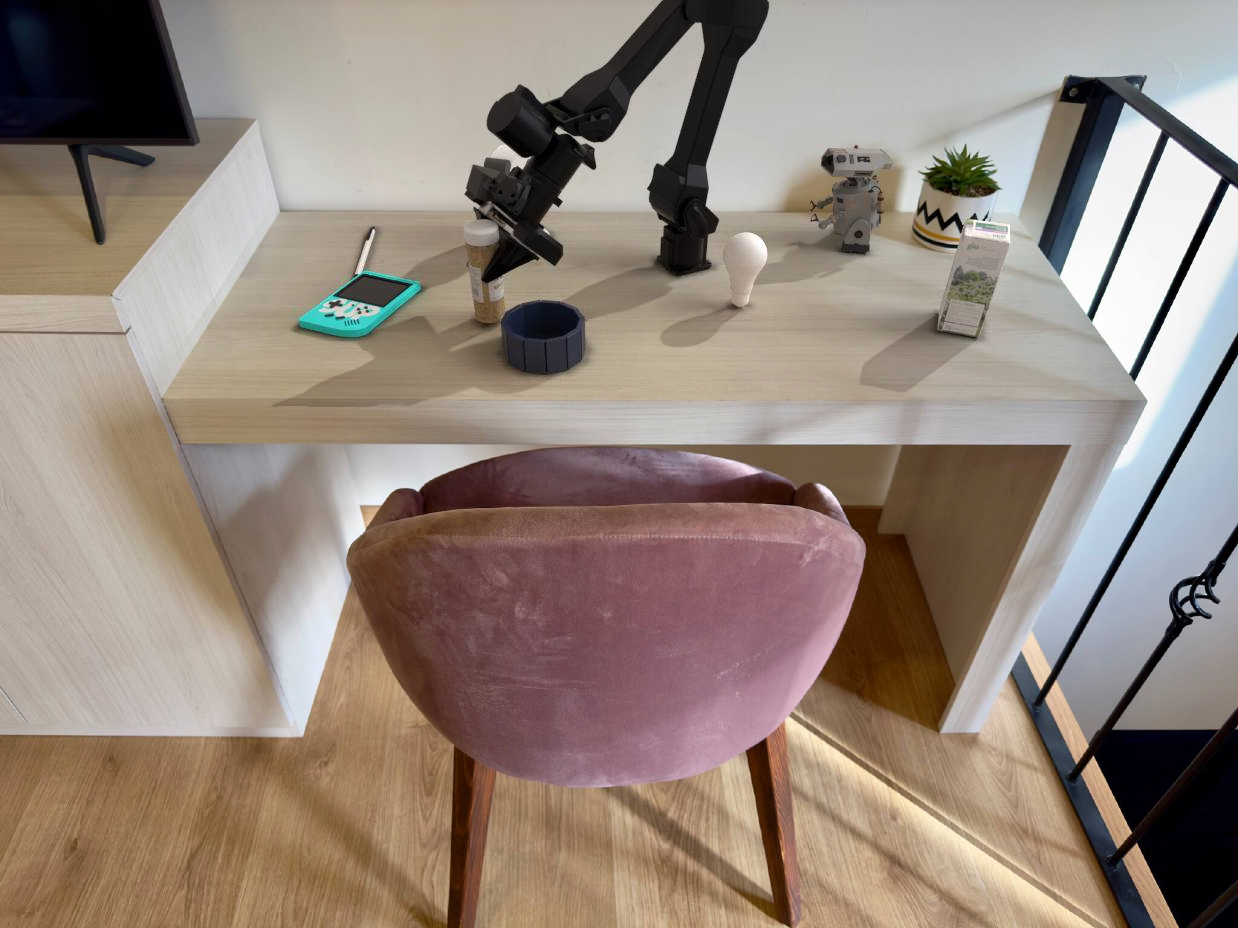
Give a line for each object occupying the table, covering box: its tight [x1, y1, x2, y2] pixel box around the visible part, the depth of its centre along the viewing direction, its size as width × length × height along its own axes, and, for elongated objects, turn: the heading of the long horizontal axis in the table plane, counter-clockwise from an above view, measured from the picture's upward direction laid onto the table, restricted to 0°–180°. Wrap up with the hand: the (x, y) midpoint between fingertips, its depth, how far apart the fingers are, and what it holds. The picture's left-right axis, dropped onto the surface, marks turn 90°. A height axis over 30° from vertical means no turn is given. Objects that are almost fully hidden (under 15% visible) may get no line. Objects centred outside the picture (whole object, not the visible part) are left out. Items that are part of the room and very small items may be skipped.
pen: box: [353, 225, 376, 278], centre depth 135 cm, size 1×19×1 cm, turn 4°
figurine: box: [809, 144, 894, 255], centre depth 136 cm, size 9×12×15 cm
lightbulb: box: [722, 231, 768, 308], centre depth 120 cm, size 6×6×11 cm
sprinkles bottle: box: [462, 219, 507, 324], centre depth 115 cm, size 5×5×14 cm
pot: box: [500, 299, 586, 375], centre depth 112 cm, size 11×11×5 cm
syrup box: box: [936, 218, 1011, 338], centre depth 115 cm, size 6×6×14 cm
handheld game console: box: [297, 270, 422, 338], centre depth 122 cm, size 10×16×1 cm, turn 158°
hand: (476, 274), depth 114 cm, fingers closed on sprinkles bottle, 4 cm apart
